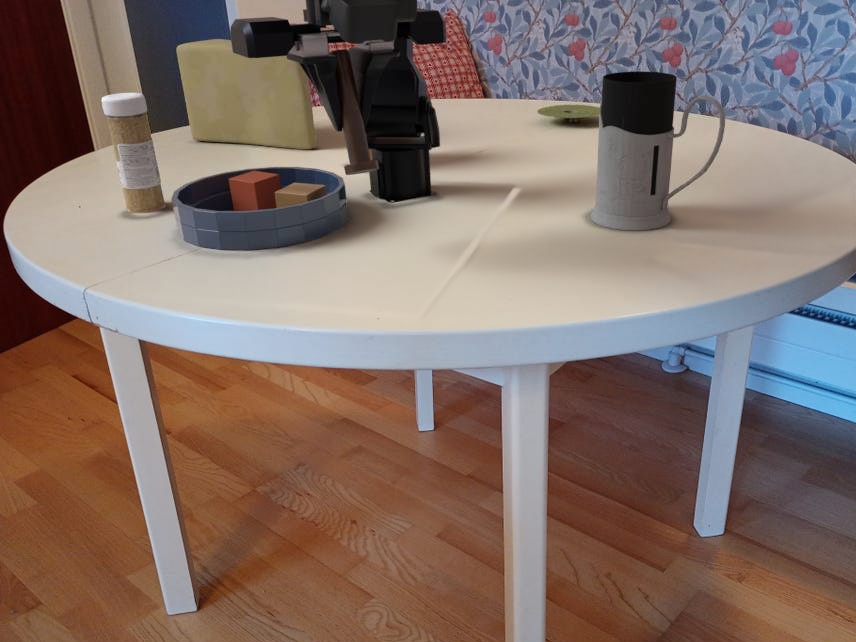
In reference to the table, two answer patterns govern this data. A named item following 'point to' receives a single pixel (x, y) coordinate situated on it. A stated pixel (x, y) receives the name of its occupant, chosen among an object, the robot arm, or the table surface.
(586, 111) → the olive green disc
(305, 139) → the cheese
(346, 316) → the table surface
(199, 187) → the bowl
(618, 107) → the glass holder
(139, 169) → the sprinkles bottle
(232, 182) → the terracotta block
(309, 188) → the wood block
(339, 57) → the stirring stick
